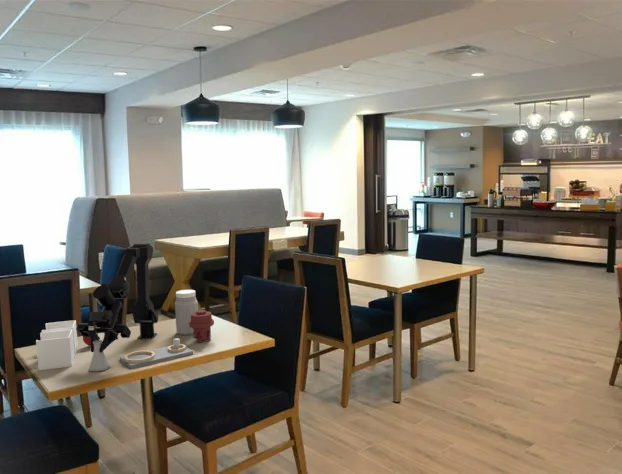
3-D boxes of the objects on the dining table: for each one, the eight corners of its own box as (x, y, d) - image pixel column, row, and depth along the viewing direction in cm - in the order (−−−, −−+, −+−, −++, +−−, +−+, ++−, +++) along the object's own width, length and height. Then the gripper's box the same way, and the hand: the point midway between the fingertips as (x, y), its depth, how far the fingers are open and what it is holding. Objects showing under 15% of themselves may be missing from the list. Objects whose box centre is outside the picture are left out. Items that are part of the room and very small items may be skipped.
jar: (196, 335, 238) (194, 293, 236) (173, 336, 238) (171, 294, 236) (201, 329, 248) (199, 288, 246) (179, 329, 248) (177, 289, 246)
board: (130, 368, 200) (129, 354, 200) (119, 360, 210) (118, 346, 209) (193, 354, 214) (192, 340, 214) (180, 346, 224) (179, 333, 223)
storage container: (71, 366, 205) (69, 337, 204) (38, 370, 202) (36, 340, 200) (77, 346, 229) (75, 320, 227) (48, 350, 225) (45, 323, 224)
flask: (92, 365, 205) (90, 338, 203) (112, 364, 205) (110, 337, 204) (86, 372, 197) (83, 345, 196) (107, 371, 198) (105, 343, 197)
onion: (102, 345, 229) (100, 325, 228) (91, 349, 224) (89, 329, 223) (91, 343, 231) (90, 324, 230) (80, 347, 226) (78, 328, 225)
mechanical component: (218, 337, 235) (209, 344, 225) (195, 336, 237) (186, 343, 227) (217, 308, 233) (207, 314, 224) (194, 307, 235) (184, 314, 226)
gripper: (76, 301, 204) (60, 340, 194) (124, 302, 201) (111, 341, 191) (90, 317, 213) (75, 355, 203) (136, 317, 210) (124, 356, 200)
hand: (96, 351), depth 199 cm, fingers closed on flask, 3 cm apart
